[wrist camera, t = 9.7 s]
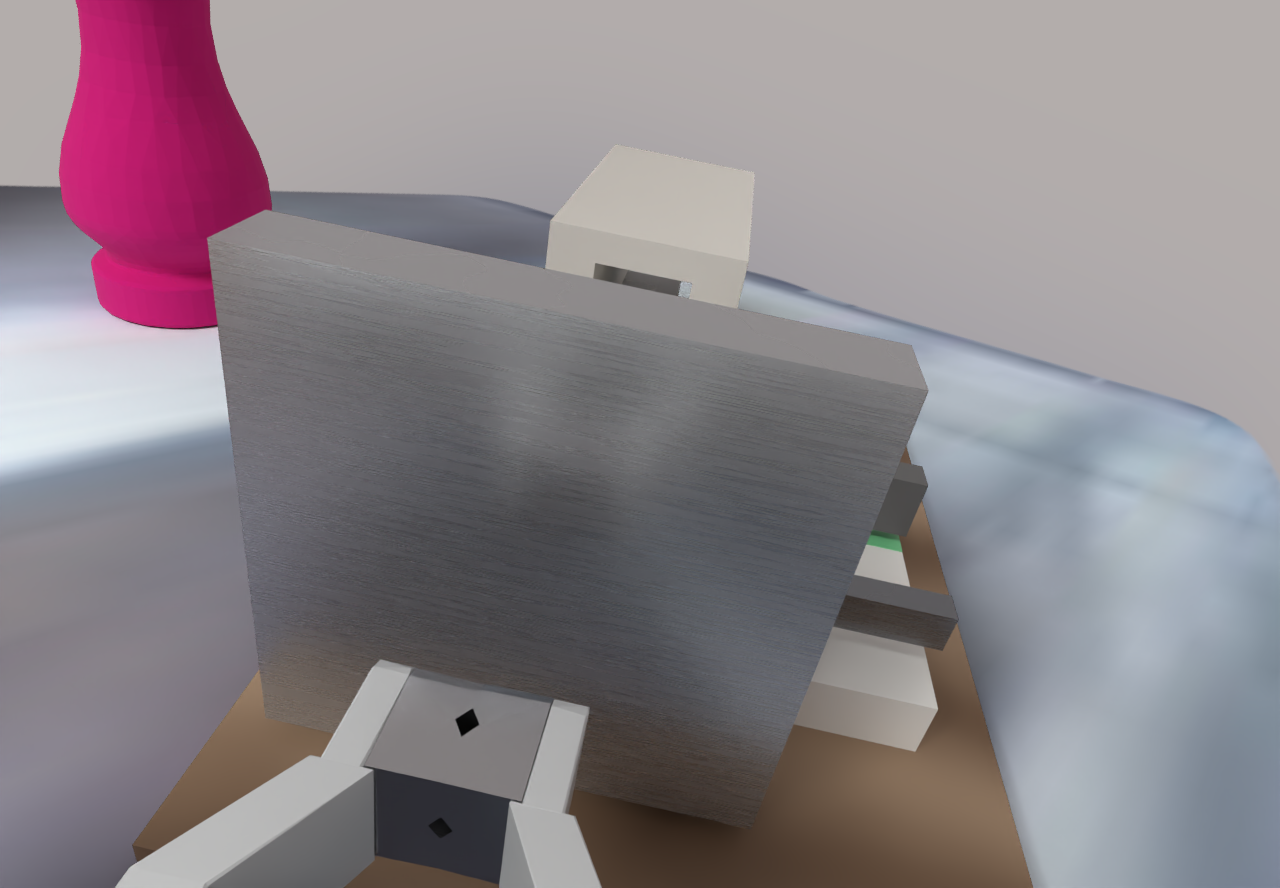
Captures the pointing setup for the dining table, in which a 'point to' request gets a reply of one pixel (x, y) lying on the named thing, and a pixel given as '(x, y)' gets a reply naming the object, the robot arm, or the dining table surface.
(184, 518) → the dining table surface
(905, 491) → the block
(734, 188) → the block
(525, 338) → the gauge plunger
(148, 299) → the pepper mill
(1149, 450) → the dining table surface
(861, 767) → the board
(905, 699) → the gauge scale
